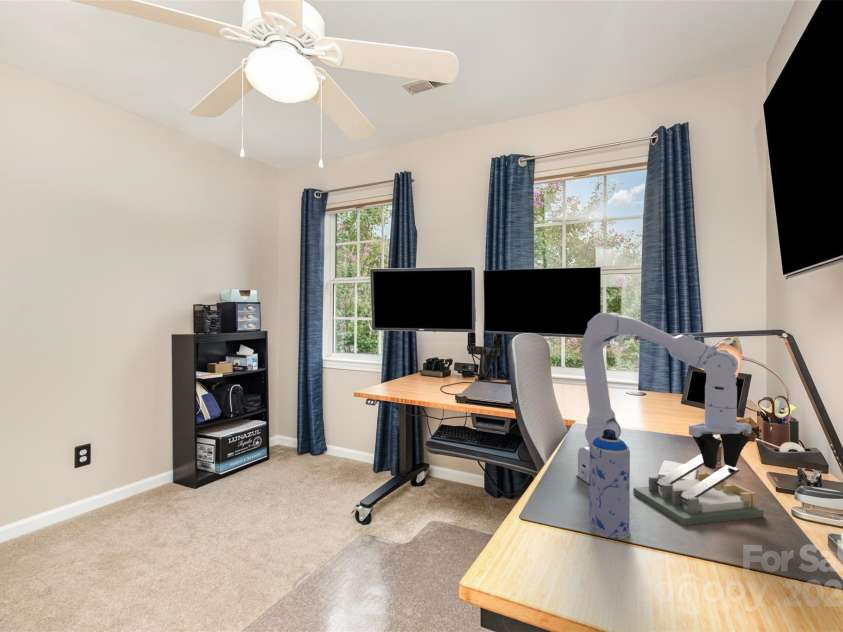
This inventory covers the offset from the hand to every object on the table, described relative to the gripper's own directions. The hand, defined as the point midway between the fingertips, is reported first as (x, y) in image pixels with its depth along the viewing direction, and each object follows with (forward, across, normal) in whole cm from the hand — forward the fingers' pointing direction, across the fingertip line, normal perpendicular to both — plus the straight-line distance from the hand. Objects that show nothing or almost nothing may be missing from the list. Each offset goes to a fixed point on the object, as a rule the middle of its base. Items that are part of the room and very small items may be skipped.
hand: (719, 466), depth 91 cm
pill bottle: (+10, +23, +24) cm, 35 cm away
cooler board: (+10, -3, +4) cm, 11 cm away
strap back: (+4, -3, +7) cm, 8 cm away
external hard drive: (+11, +8, +20) cm, 24 cm away
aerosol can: (+10, -29, -2) cm, 31 cm away
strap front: (+4, -3, 0) cm, 5 cm away
